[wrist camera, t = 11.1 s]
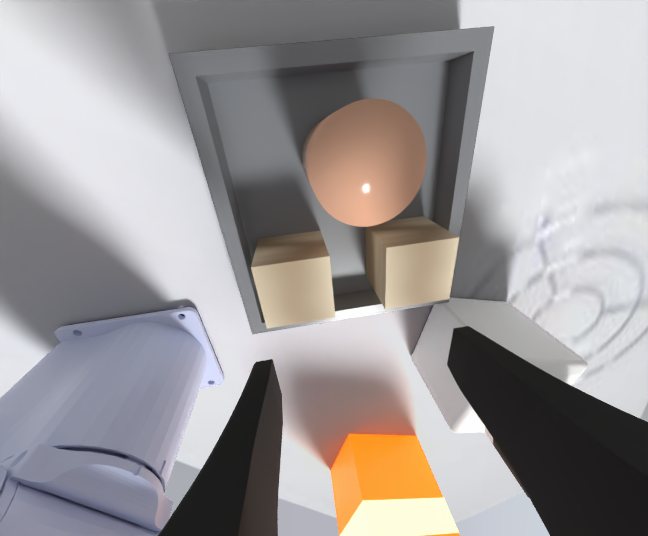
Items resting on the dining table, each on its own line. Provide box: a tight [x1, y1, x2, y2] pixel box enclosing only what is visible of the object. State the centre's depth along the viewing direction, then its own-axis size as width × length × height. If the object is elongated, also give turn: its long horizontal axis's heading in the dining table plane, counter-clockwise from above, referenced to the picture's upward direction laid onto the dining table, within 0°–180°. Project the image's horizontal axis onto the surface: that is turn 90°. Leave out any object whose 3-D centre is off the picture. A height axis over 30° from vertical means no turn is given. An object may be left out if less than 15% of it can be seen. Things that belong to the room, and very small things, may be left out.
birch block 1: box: [251, 230, 335, 329], centre depth 16 cm, size 4×4×4 cm
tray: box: [169, 26, 494, 334], centre depth 16 cm, size 14×15×2 cm
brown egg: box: [302, 98, 427, 227], centre depth 12 cm, size 4×4×6 cm
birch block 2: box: [366, 216, 459, 309], centre depth 16 cm, size 4×4×4 cm
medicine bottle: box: [411, 297, 588, 497], centre depth 18 cm, size 7×7×12 cm
